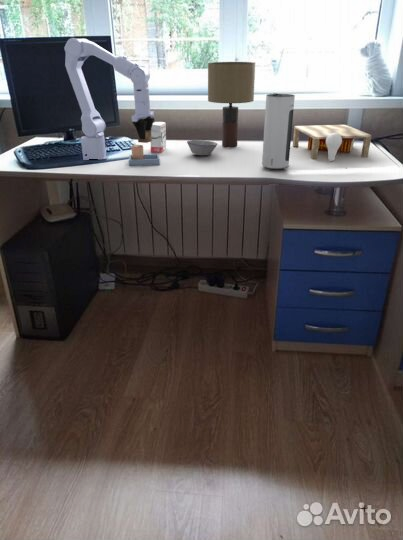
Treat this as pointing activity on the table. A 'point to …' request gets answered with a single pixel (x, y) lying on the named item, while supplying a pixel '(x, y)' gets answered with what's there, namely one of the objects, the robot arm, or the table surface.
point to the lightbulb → (333, 145)
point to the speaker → (277, 130)
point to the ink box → (158, 137)
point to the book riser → (326, 130)
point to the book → (345, 146)
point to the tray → (145, 160)
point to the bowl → (201, 147)
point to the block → (146, 137)
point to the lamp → (230, 93)
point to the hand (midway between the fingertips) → (144, 137)
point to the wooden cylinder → (137, 152)
